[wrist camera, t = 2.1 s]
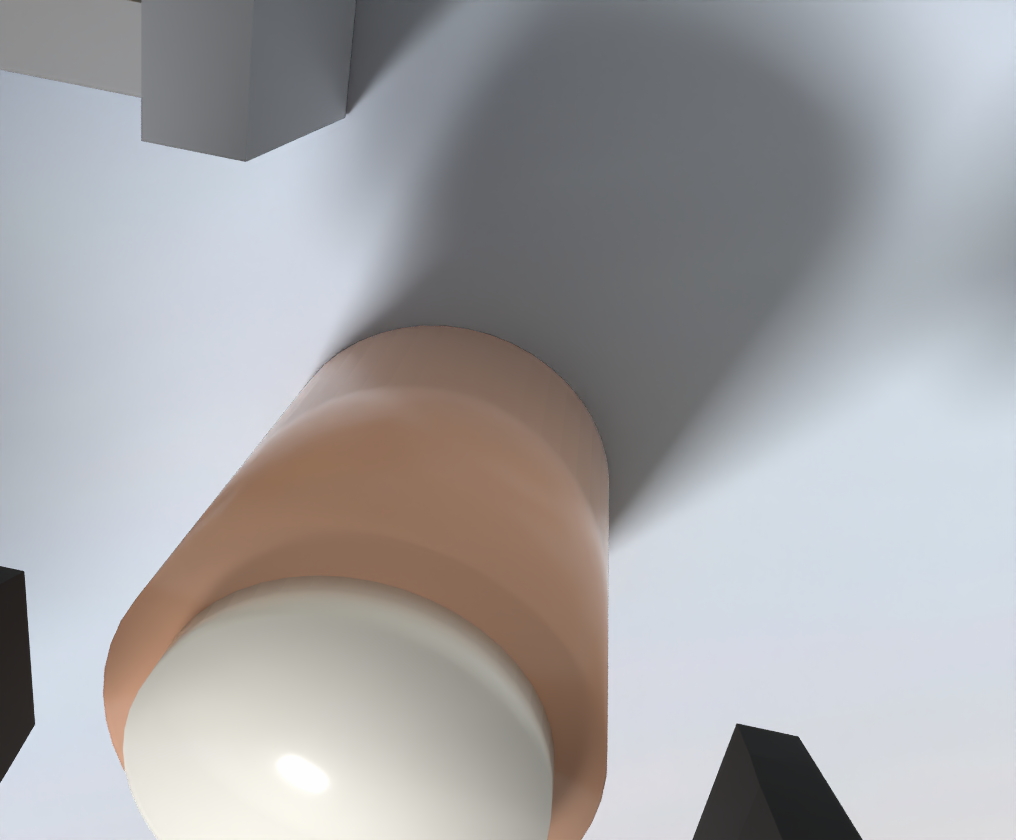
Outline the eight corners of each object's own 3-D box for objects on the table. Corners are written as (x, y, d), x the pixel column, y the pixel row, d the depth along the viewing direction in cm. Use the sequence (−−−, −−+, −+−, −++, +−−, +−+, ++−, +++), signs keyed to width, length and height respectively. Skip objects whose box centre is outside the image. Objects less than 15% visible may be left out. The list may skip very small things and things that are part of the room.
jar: (571, 644, 15) (547, 1016, 9) (272, 581, 15) (78, 914, 9) (644, 364, 13) (668, 636, 7) (294, 293, 13) (60, 510, 7)
